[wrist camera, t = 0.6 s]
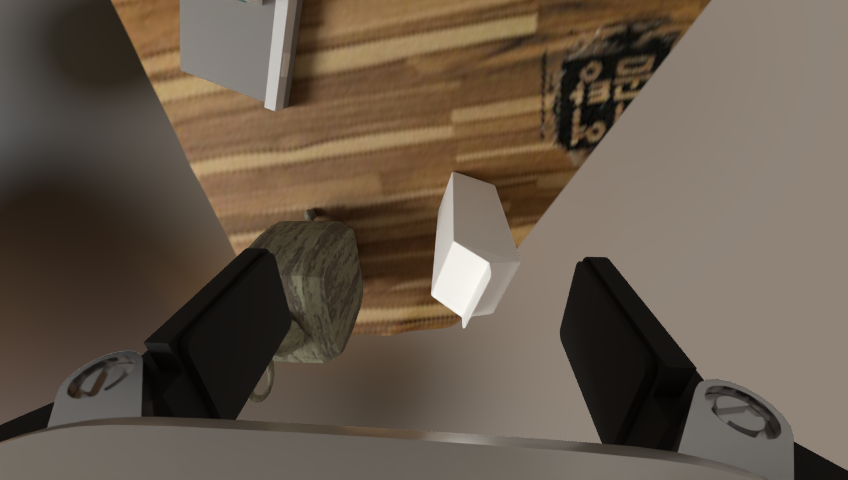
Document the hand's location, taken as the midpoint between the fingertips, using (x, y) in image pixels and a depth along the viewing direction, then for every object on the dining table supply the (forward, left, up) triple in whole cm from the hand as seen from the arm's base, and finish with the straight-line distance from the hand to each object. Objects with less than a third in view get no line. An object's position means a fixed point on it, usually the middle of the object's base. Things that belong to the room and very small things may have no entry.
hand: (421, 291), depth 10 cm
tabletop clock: (+22, -8, -34) cm, 42 cm away
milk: (+8, +7, -34) cm, 36 cm away
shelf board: (-5, -24, -34) cm, 42 cm away
